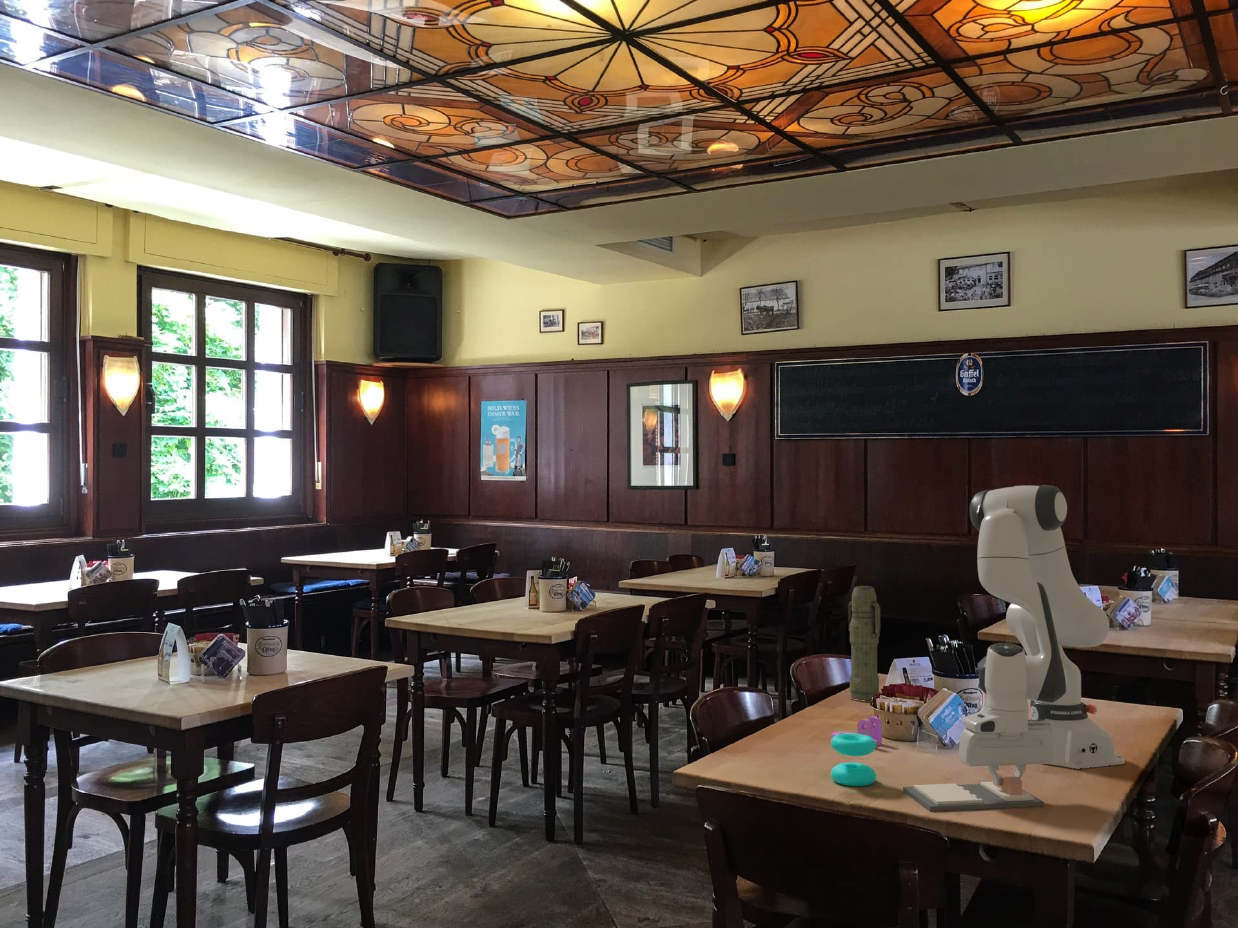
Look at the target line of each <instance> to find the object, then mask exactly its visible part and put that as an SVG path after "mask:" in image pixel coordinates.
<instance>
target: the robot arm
mask: <svg viewBox="0 0 1238 928" xmlns="http://www.w3.org/2000/svg"><path fill="white" fill-rule="evenodd" d="M1067 515H1068V504H1067V499H1066V497H1065V494H1064V493H1063V491H1062V490H1061V489H1060V488H1058V487H1057V486H1055V485H1048V484H1041V485H1014V486H1008V487H1002V488H996V489H985V490H981V491H979V492H977V493H975V494H974V496H973V498H971V501H970V504H969V518H970V521H971V523H972V525H973V527H974V528H975V529H976V530H977V532H979V534H978V541H977V552H976V553H977V574H978V579H979V582H980V584H981V586H982V588H983V589H984V590H985V591H986V592H988V593H989V594H990V595H992V596H994V597H996V598H998V599H999V600H1003V601H1005V602H1008V603H1010V604H1009V606H1008V608H1007V610H1006V614H1005V615H1006V616H1005V619H1006V620H1005V621H1006V625H1007V627H1008V629H1009V631H1010V632H1011V634H1012V635H1014V637H1015V638H1017V640H1018V641H1019V642H1020V644H1021V646H1022V647H1021V646H1020V645H1017V644H1014V643H1008V642H998V643H993V644H991V645H990V646H989V647H988V648H987V652H986V656H984V657H982V659H981V660H980V661H978V663H977V669H978V685H977V688H978V689H979V690H980V691H982V692H983V693H984V694H985V695H986V697H985V698H986V699H985V701H984V709H982V710H979V711H977V712H975V713H974V712H973V713H972V714H969V715H966V716H965V717H963V718H962V725H963V726H964V727H965V728H964V729H963V730H962V732H961V733H960V738H959V745H958V746H959V747H958V748H959V749H958V756H959V757H958V758H959V760H960V762H961V763H962V764H963V765H965V766H967V767H987V769H988V771H989V772H990V774H991V776H992V782H993V784H994V785H995V786H1003V778H1002V777H1000V776H999V775H998V774H997V772H996V770H999V768H1000V767H999V766H1014V767H1015V768H1016V770H1015V772H1014V774H1012V775H1013V776H1015V777H1017V778H1018V779H1020V780H1022V777H1023V776H1024V773H1025V772H1026V770H1027V765H1051V766H1059V767H1065V768H1068V769H1069V768H1070V769H1074V768H1075V769H1076V770H1077V769H1079V770H1081V769H1080V768H1082V769H1088V768H1090V767H1091V768H1099V767H1109V765H1110V766H1118V765H1125V763H1126V760H1125V758H1124V757H1123V756H1122V755H1121V754H1118V753H1117V752H1116V751H1115V747H1114V741H1113V739H1112V736H1111V734H1109V733H1108V732H1107V731H1106V730H1104V729H1103V728H1102V727H1101V726H1100V725H1098V724H1097V723H1096V722H1095V721H1093V719H1090V717H1089V715H1088V713H1089V714H1091V715H1095V714H1096V713H1097V711H1098V709H1097V707H1096V706H1095V705H1093V704H1086V703H1085V702H1082V674H1081V670H1080V669H1079V667H1078V666H1077V665H1076V664H1075V663H1074V662H1072V661H1071V660H1070V659H1069V658H1068V656H1067V655H1066V654H1065V651H1064V649H1063V646H1064V647H1065V646H1066V647H1072V648H1093V647H1098V646H1100V645H1102V644H1103V643H1104V642H1105V641H1106V639H1107V637H1108V636H1109V635H1108V634H1109V631H1110V622H1109V617H1108V616H1107V613H1106V612H1105V611H1104V609H1103V608H1101V607H1100V606H1099V605H1098V604H1095V602H1094V601H1092V600H1091V599H1090V598H1089V597H1088V595H1086V593H1085V592H1084V591H1083V589H1081V588H1082V587H1080V585H1079V584H1078V582H1077V580H1076V578H1075V577H1074V575H1073V572H1072V571H1073V570H1072V569H1071V568H1072V567H1071V565H1070V564H1071V563H1070V561H1069V558H1068V557H1069V556H1068V553H1067V552H1068V551H1067V548H1066V543H1065V539H1064V535H1063V534H1064V533H1063V531H1062V527H1061V526H1062V525H1063V524H1064V523H1065V521H1066V519H1067ZM1028 700H1030V705H1029V703H1028ZM1029 706H1030V710H1029ZM1029 711H1030V719H1029Z"/></svg>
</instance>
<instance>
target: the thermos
mask: <svg viewBox="0 0 1238 928" xmlns="http://www.w3.org/2000/svg"><path fill="white" fill-rule="evenodd" d="M847 610H848V611H847V612H848V613H847V615H848V626H847V627H848V629H847V630H848V631H849V643H850V646H851V648H850V649H851V650H850V651H851V653H850V654H851V659H850V660H851V663H850V665H851V666H850V667H851V672H850V676H849V692H850V696H851V698H853V699H858V700H865V701H871V700H872V697H873V696H874V694H876V693H878V694H879V692H880V678H879V676H878V675H879V674H878V646H879V645H878V644H879V642H880V641H879V638H880V635H881V606H880V604H879V602H877V594H876V591H875V587H872V586H871V585H856V586H855V587H853V590H852V593H851V600H850V601H849V602H848V604H847Z"/></svg>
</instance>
